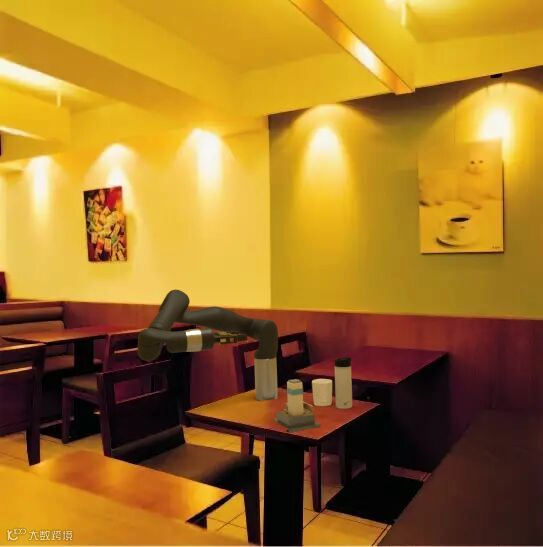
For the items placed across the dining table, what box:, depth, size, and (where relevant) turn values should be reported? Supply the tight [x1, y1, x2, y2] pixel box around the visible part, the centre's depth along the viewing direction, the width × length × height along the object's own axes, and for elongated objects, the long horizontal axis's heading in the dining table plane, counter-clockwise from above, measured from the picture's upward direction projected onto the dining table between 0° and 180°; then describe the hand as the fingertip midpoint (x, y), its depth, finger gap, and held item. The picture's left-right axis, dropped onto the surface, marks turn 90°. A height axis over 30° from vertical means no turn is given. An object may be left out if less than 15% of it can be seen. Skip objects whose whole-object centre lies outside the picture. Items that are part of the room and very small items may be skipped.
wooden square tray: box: [283, 400, 315, 413], centre depth 210 cm, size 9×9×3 cm
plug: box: [286, 378, 304, 416], centre depth 195 cm, size 4×4×15 cm
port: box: [271, 409, 321, 433], centre depth 195 cm, size 14×12×4 cm
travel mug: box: [334, 356, 353, 410], centre depth 212 cm, size 6×7×20 cm
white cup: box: [311, 378, 333, 407], centre depth 218 cm, size 8×8×10 cm
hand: (242, 335), depth 194 cm, fingers open, 8 cm apart
